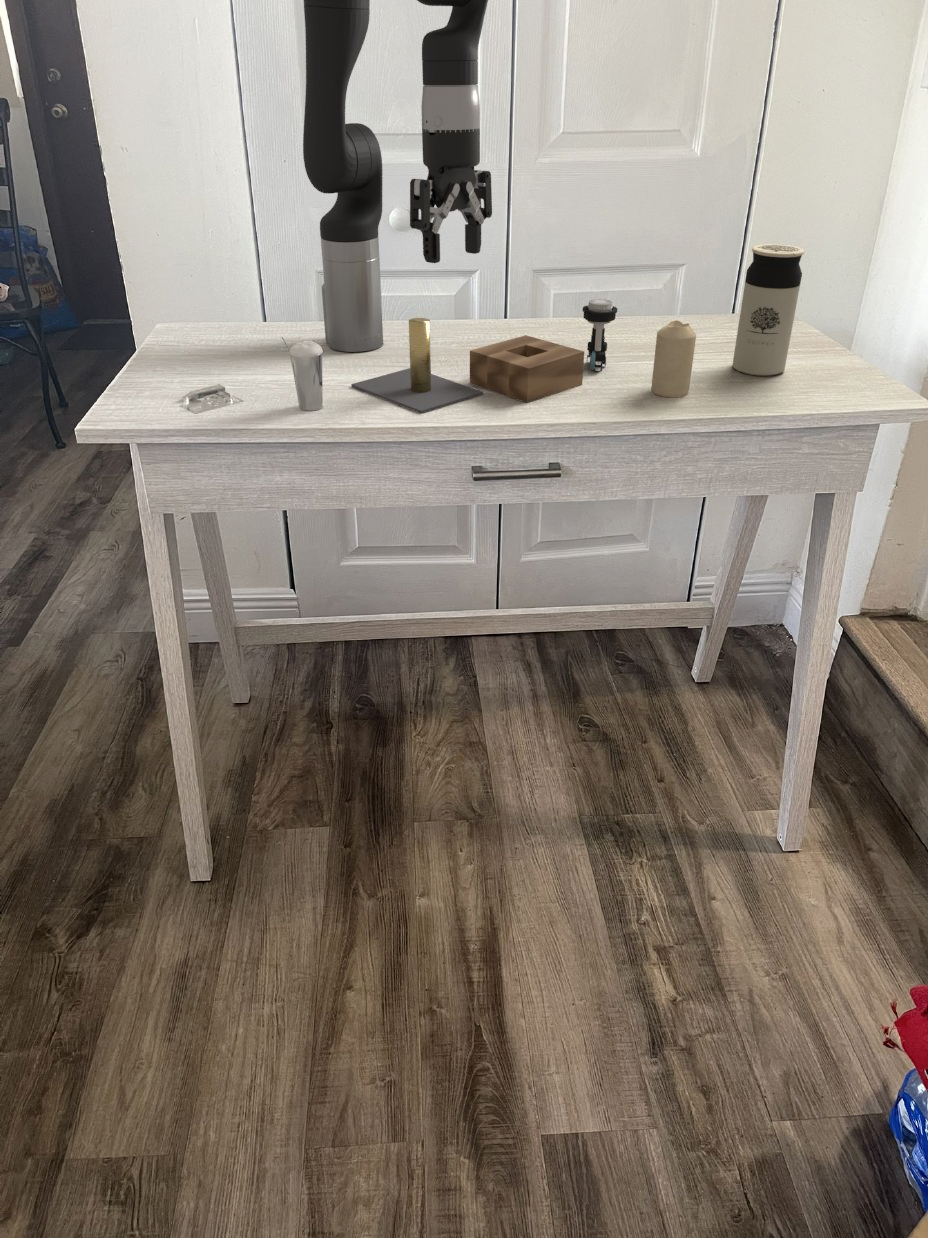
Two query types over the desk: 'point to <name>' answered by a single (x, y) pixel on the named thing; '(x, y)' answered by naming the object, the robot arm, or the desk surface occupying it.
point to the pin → (420, 355)
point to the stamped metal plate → (207, 399)
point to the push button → (598, 330)
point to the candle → (673, 360)
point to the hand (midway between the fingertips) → (452, 257)
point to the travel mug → (768, 309)
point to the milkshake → (307, 374)
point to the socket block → (526, 368)
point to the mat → (400, 393)
